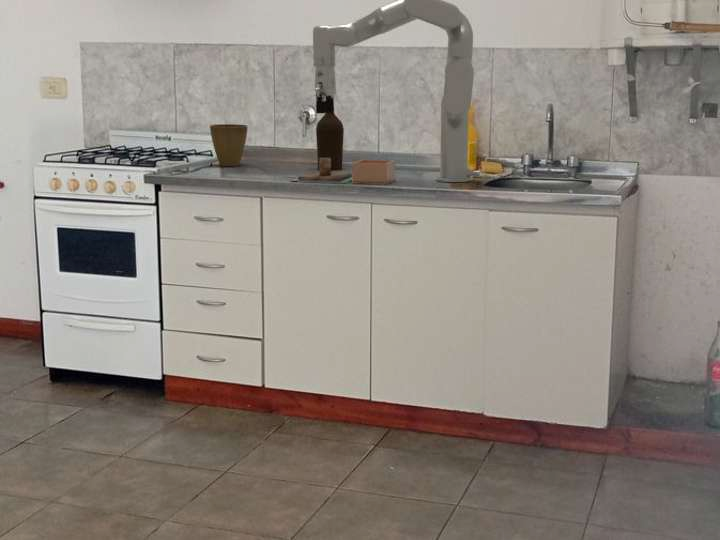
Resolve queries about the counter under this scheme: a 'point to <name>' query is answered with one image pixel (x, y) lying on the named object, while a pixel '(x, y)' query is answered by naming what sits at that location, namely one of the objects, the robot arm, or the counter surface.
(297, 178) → the mat
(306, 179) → the lid
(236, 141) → the plant pot
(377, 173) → the pot
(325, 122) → the olive oil
